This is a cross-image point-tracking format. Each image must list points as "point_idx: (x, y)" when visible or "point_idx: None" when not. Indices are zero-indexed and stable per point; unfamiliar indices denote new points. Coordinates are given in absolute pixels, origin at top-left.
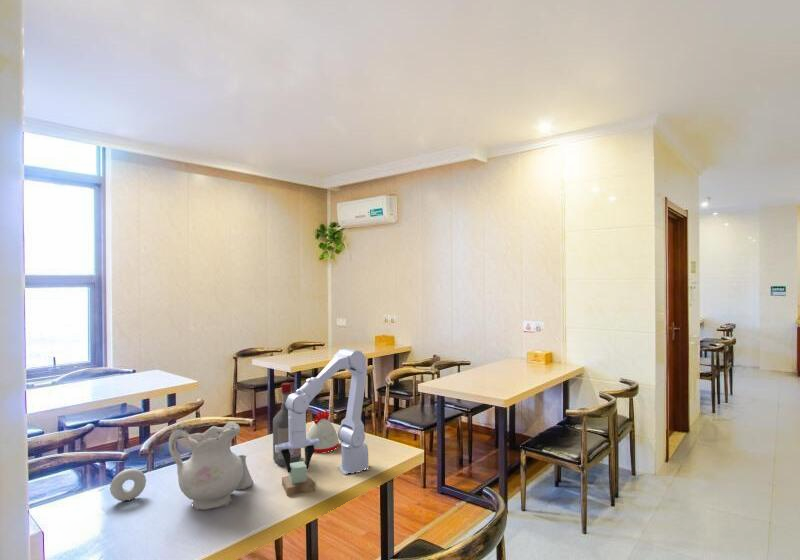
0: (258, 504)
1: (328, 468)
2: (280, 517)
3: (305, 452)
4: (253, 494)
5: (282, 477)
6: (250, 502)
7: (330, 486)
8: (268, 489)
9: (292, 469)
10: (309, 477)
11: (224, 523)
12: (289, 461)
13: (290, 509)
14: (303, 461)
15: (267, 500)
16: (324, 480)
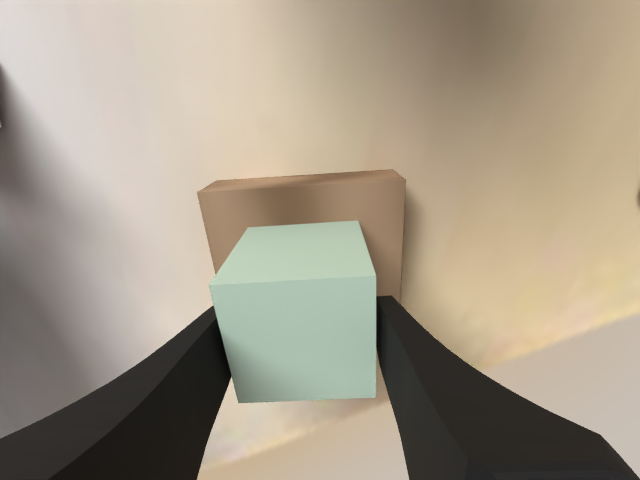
0: (114, 351)
1: (614, 6)
2: (218, 454)
3: (424, 430)
4: (58, 247)
5: (201, 197)
6: (68, 323)
7: (481, 306)
8: (136, 216)
9: (247, 399)
10: (389, 272)
11: (15, 430)
12: (193, 468)
13: (256, 423)
14: (375, 288)
15: (150, 332)
16: (483, 222)
